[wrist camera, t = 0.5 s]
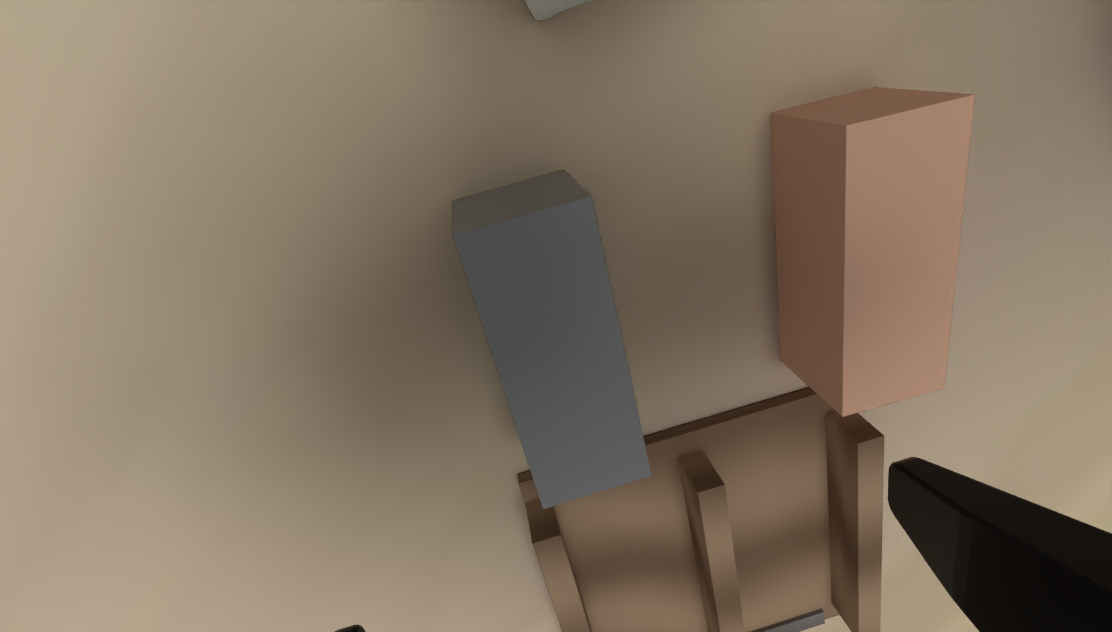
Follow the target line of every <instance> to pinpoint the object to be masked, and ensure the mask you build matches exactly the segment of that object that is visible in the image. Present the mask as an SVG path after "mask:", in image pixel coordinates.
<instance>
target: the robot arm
mask: <svg viewBox="0 0 1112 632" xmlns="http://www.w3.org/2000/svg"><path fill="white" fill-rule="evenodd" d="M888 502H889V506H890V509H891V511H892V512H893V514H894V516H895V517H896V519H897V520H898V522H899V523H900V524H901V526H902V527H903V529H904V530H905V532H906V533H907V535H908V536H909V537H910V539H911V540H912V542H913V543H914V545H915V546H916V548H917V549H918V551H919V552H920V553H921V555H922V556H923V558H924V559H925V561H926V562H927V564H928V565H929V566H930V568H931V569H932V571H933V572H934V574H935V575H936V577H937V578H938V580H939V581H940V582H941V584H942V585H943V587H944V588H945V589H946V591H947V592H948V593H949V595H950V596H951V598H952V599H953V600H954V601H955V603H956V604H957V605H958V606H959V607H960V609H961V610H962V611H963V612H964V614H965V615H966V616H967V617H968V618H969V620H970V621H971V622H972V623H973V624H974V626H975V627H976V628H977V629H978V630H979V632H1112V534H1111V533H1109V532H1106V531H1104V530H1101V529H1099V528H1096V527H1094V526H1091V525H1089V524H1086V523H1083V522H1081V521H1078V520H1076V519H1073V518H1071V517H1068V516H1066V515H1063V514H1061V513H1058V512H1055V511H1053V510H1050V509H1048V508H1045V507H1043V506H1040V505H1038V504H1035V503H1033V502H1030V501H1027V500H1025V499H1022V498H1020V497H1017V496H1015V495H1012V494H1010V493H1007V492H1005V491H1002V490H999V489H997V488H994V487H992V486H989V485H987V484H984V483H982V482H979V481H977V480H974V479H971V478H969V477H966V476H964V475H961V474H959V473H956V472H954V471H951V470H949V469H946V468H943V467H941V466H938V465H936V464H933V463H931V462H928V461H926V460H923V459H920V458H917V457H910V458H907V459H903V460H900V461H897V462H894V463H892V464H891V465H890V467H889V477H888ZM335 632H365V630H364V629H363V627H362V626H360V625H353V626H349V627H346V628H343V629H339V630H337V631H335Z"/></svg>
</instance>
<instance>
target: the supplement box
mask: <svg viewBox="0 0 1112 632" xmlns="http://www.w3.org/2000/svg"><path fill="white" fill-rule="evenodd" d="M524 1H525V3H526V4H527V6H528V8H529V10H530V12H531V13H532V15H533V17H534V18H535V20H537V21H542V20H545V19H547V18H550V17H552V16H554V15H556V14H558V13H560V12H563V11H565V10H568V9H571V8H573V7H576V6H579V5H581V4H584V3H587V2H589V1H592V0H524Z"/></svg>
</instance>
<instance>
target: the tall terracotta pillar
mask: <svg viewBox="0 0 1112 632" xmlns="http://www.w3.org/2000/svg"><path fill="white" fill-rule="evenodd" d="M974 98H975V94H961V93H947V92H933V91H919V90H905V89H891V88H872V89H867V90H863V91H859V92H855V93H851V94H847V95H842V96H838V97H834V98H830V99H826V100H821V101H817V102H813V103H809V104H805V105H801V106H796V107H792V108H788V109H784V110H780V111H775V112H771V132H772V157H773V182H774V207H775V232H776V257H777V282H778V307H779V332H780V357H781V361H782V362H783V363H784V364H785V365H786V366H787V367H788V368H789V369H791V370H792V371H793V372H794V373H795V374H796V375H797V376H798V377H799V378H800V379H801V380H803V381H804V382H805V383H806V384H807V385H808V386H809V387H810V388H811V389H812V390H814V391H815V392H816V393H817V394H818V395H819V396H820V397H821V398H822V399H823V400H825V401H826V402H827V403H828V404H829V405H830V406H831V407H832V408H833V409H834V410H835V411H837V412H838V413H839V414H840V415H841V416H842V417H844V416H847V415H851V414H854V413H858V412H861V411H865V410H869V409H872V408H876V407H879V406H883V405H887V404H890V403H894V402H897V401H901V400H904V399H908V398H912V397H915V396H919V395H922V394H926V393H930V392H933V391H937V390H940V389H944V388H945V379H946V369H947V359H948V350H949V340H950V330H951V321H952V311H953V301H954V291H955V282H956V272H957V262H958V253H959V243H960V233H961V224H962V214H963V204H964V195H965V185H966V175H967V165H968V156H969V146H970V136H971V127H972V117H973V107H974Z"/></svg>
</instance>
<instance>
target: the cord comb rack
mask: <svg viewBox="0 0 1112 632" xmlns="http://www.w3.org/2000/svg"><path fill="white" fill-rule="evenodd" d="M643 438H644V442H645V447H646V452H647V456H648V461H649V466H650V470H651V475H652V476H649V477H646V478H642V479H639V480H636V481H633V482H630V483H626V484H623V485H620V486H617V487H613V488H610V489H607V490H604V491H601V492H597V493H594V494H591V495H588V496H584V497H581V498H578V499H575V500H572V501H568V502H565V503H562V504H559V505H556V506H552V507H549V508H546V509H543V507H542V504H541V501H540V498H539V495H538V492H537V489H536V486H535V483H534V480H533V477H532V474H531V471H528V472H525V473H521V474H518V481H519V485H520V488H521V491H522V494H523V497H524V500H525V503H526V509H527V515H528V520H529V526H530V532H531V538H532V543H533V546H534V549H535V552H536V555H537V558H538V561H539V564H540V567H541V570H542V573H543V576H544V579H545V582H546V585H547V588H548V591H549V594H550V597H551V600H552V602H553V605H554V608H555V611H556V614H557V617H558V620H559V623H560V626H561V629H562V632H799V631H802V630H806V629H809V628H812V627H815V626H818V625H821V624H824V623H825V621H824V620H825V619H828V618H831V617H834V616H837V615H840V616H841V617H842V619H843V620H844V621H845V623H846V624H847V626H848V627H849V629H850V630H851V631H852V632H880V613H881V564H882V515H883V466H884V435H883V434H881V433H880V432H879V431H878V430H877V429H876V428H875V427H873V426H872V425H871V424H870V423H869V422H868V421H866V420H865V419H864V418H863V417H862V416H861V415H859V414H858V413H854V414H851V415H847V416H844V417H842V416H841V415H840V414H839V413H838V412H837V411H835V410H834V409H833V408H832V407H831V406H830V405H829V404H828V403H827V402H826V401H825V400H823V399H822V398H821V397H820V396H819V395H818V394H817V393H816V392H815V391H814V390H812V389H811V388H810V387H809V388H806V389H802V390H799V391H795V392H792V393H789V394H785V395H782V396H779V397H775V398H772V399H769V400H765V401H762V402H759V403H755V404H752V405H749V406H745V407H742V408H739V409H735V410H732V411H729V412H725V413H722V414H719V415H715V416H712V417H709V418H705V419H702V420H699V421H695V422H692V423H689V424H685V425H682V426H678V427H675V428H672V429H668V430H665V431H662V432H658V433H655V434H652V435H648V436H645V437H643Z"/></svg>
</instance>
